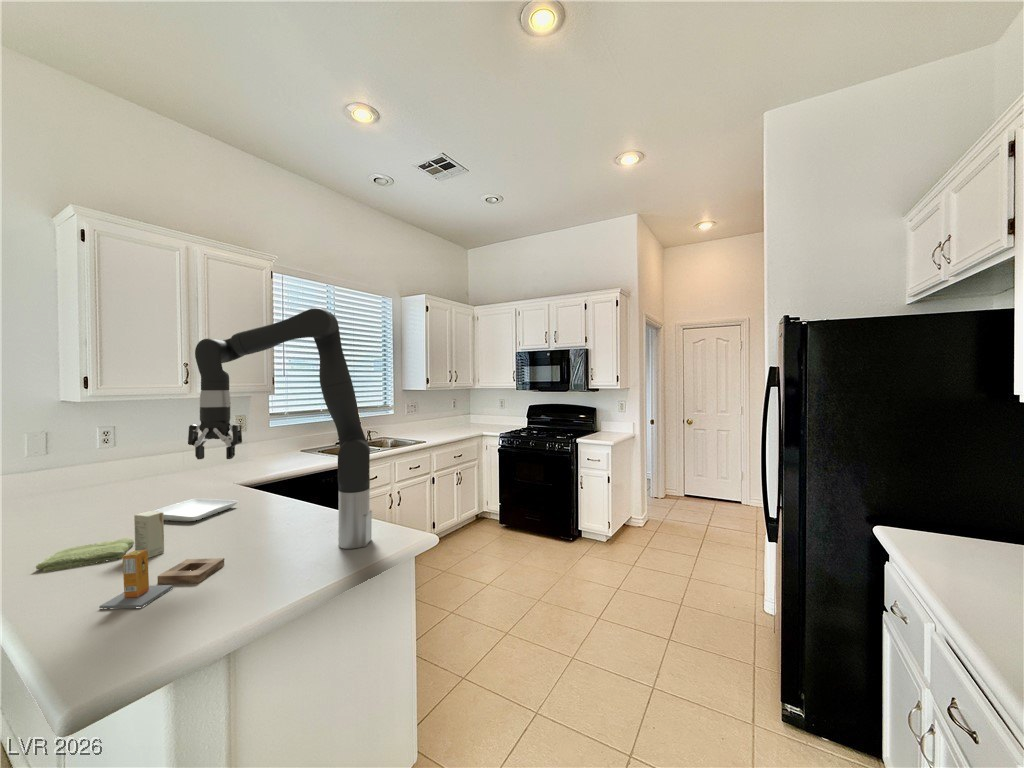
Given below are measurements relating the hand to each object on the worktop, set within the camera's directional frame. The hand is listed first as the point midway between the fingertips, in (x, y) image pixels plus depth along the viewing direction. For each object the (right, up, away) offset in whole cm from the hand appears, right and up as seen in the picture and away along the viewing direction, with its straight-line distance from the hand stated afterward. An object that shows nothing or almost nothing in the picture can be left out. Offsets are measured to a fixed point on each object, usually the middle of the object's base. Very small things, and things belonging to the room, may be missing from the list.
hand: (215, 458), depth 123 cm
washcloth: (-33, -29, -5) cm, 44 cm away
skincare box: (-18, -28, -2) cm, 33 cm away
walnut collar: (+5, -28, -15) cm, 32 cm away
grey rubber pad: (+2, -28, -27) cm, 39 cm away
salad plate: (-34, -29, +35) cm, 57 cm away
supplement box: (+1, -27, -27) cm, 38 cm away
